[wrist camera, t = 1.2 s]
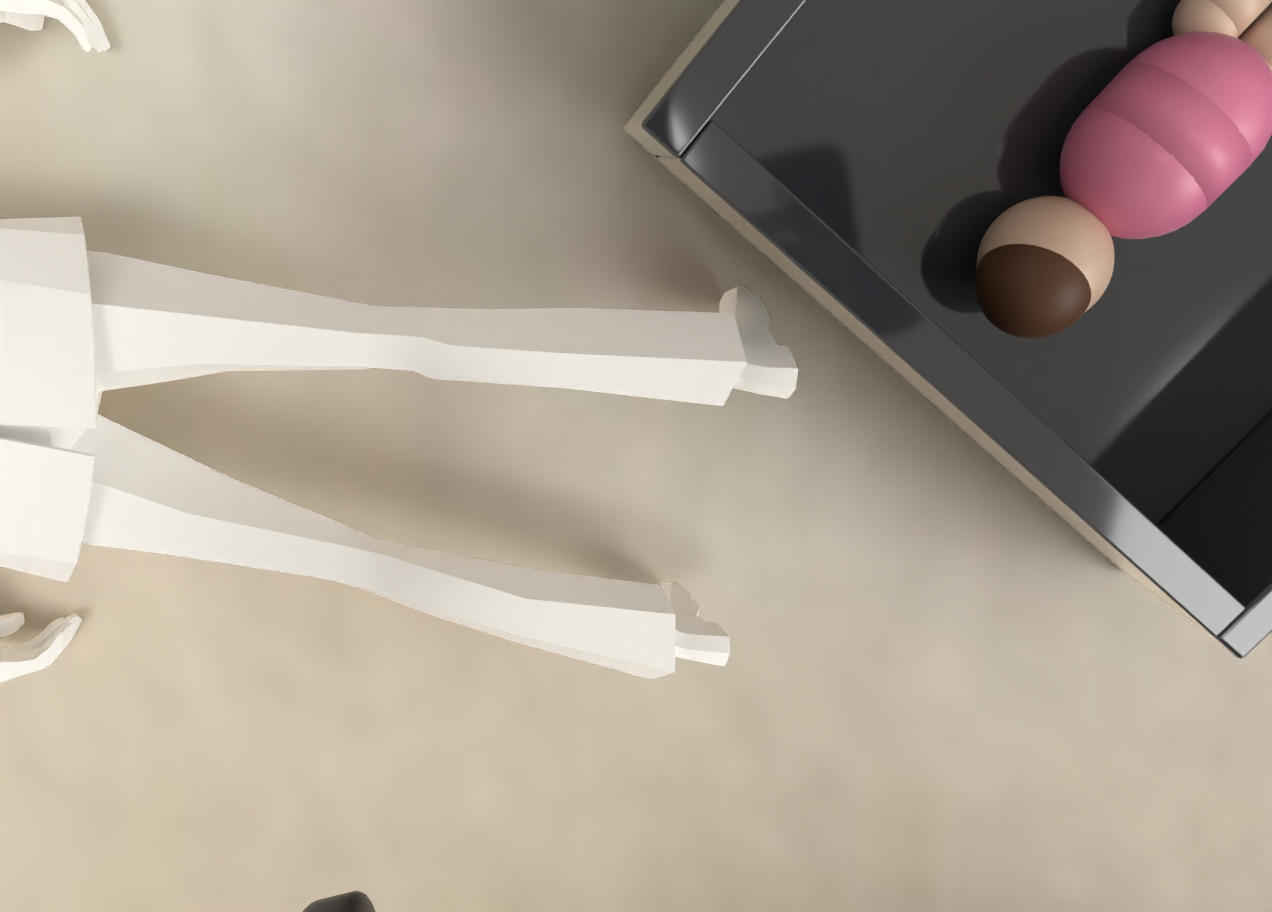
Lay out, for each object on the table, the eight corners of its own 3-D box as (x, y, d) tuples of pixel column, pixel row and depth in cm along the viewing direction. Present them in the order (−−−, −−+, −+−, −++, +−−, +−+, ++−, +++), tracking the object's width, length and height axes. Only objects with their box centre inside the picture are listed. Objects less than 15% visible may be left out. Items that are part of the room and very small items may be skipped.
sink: (1531, 169, 21) (1753, 175, 17) (1125, 574, 23) (1242, 662, 19) (1054, -415, 17) (1199, -577, 14) (621, 128, 19) (639, 124, 16)
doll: (1226, -74, 18) (1328, -98, 16) (1318, 35, 19) (1431, 29, 16) (915, 260, 20) (960, 288, 18) (1008, 347, 21) (1066, 387, 18)
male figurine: (738, 118, 21) (-893, -249, 14) (867, 123, 16) (-1717, -477, 9) (616, 688, 25) (-727, 616, 18) (685, 859, 19) (-1230, 848, 12)
